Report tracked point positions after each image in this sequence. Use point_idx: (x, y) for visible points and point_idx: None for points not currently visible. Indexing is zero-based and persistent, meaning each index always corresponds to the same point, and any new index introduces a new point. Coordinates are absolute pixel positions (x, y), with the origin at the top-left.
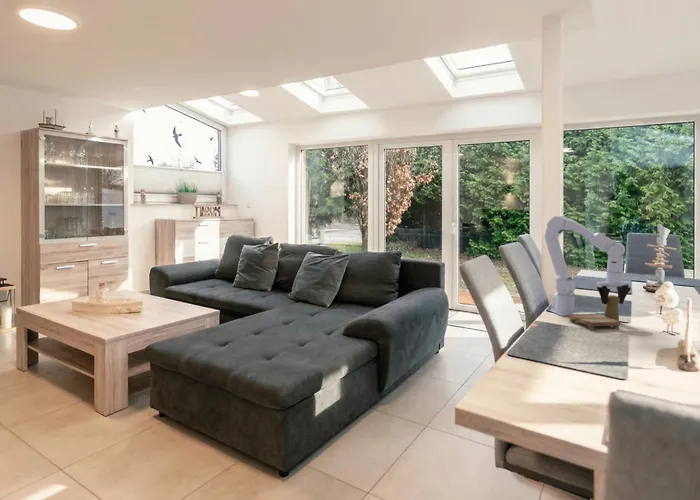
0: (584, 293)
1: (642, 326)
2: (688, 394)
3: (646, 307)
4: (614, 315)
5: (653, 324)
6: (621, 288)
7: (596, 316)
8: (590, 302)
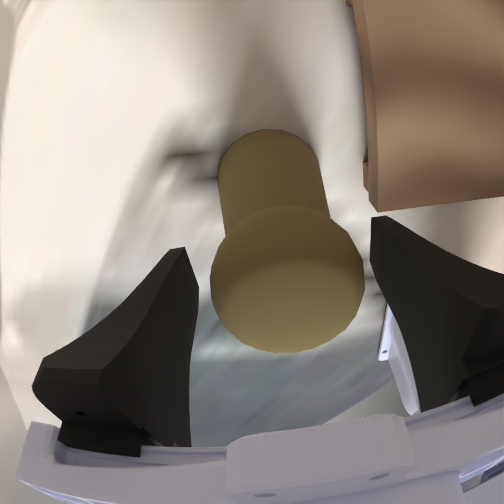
0: None
1: (116, 58)
2: None
3: (27, 383)
4: (280, 152)
5: (31, 131)
6: (158, 418)
7: (441, 131)
8: None
